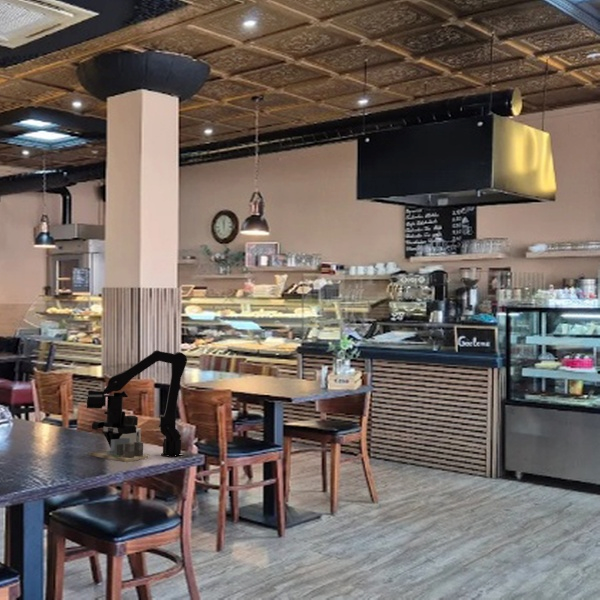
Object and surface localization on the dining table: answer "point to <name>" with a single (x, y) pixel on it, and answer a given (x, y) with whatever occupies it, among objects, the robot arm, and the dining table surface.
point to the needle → (119, 449)
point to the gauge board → (131, 453)
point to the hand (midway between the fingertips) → (113, 450)
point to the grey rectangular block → (114, 445)
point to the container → (133, 436)
